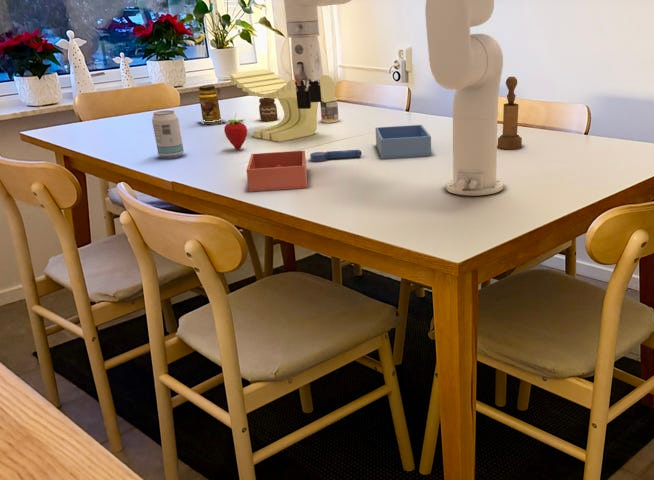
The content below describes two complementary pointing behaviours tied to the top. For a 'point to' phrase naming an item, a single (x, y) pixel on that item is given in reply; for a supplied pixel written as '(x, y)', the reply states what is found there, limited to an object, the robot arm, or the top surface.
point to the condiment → (209, 104)
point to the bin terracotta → (277, 171)
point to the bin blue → (403, 141)
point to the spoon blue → (334, 155)
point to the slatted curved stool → (284, 102)
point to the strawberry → (236, 132)
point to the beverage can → (167, 134)
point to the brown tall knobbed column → (510, 119)
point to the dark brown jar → (267, 109)
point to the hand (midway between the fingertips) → (310, 105)
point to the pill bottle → (329, 111)
